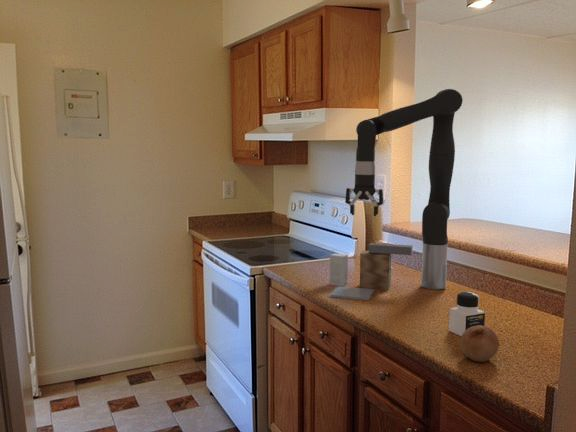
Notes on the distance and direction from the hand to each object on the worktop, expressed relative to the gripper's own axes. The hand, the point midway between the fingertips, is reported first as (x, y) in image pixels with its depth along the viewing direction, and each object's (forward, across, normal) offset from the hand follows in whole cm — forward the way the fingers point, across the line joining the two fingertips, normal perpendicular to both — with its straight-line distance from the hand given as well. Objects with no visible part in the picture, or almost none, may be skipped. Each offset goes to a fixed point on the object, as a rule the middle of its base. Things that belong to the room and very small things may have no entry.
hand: (363, 215), depth 204 cm
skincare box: (+28, +9, 0) cm, 30 cm away
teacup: (+28, -6, -14) cm, 32 cm away
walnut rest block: (+28, -5, 0) cm, 28 cm away
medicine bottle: (+28, -39, +42) cm, 64 cm away
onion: (+28, -42, +61) cm, 79 cm away
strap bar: (+14, -11, 0) cm, 17 cm away
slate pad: (+28, +1, +12) cm, 30 cm away
